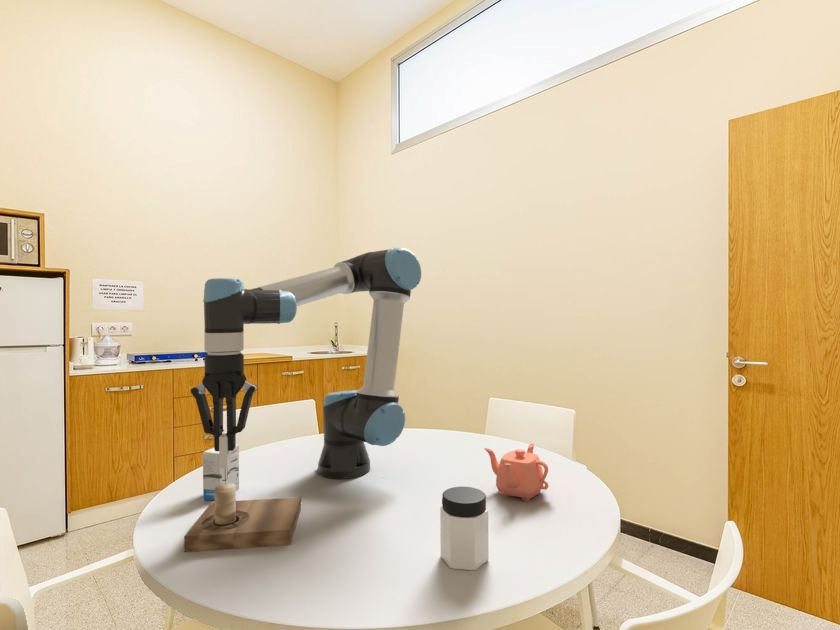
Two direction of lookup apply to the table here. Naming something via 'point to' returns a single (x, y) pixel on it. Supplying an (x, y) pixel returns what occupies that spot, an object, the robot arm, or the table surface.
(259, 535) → the board
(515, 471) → the teapot
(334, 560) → the table surface
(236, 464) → the ink box
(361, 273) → the robot arm
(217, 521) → the dowel
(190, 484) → the table surface
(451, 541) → the jar
